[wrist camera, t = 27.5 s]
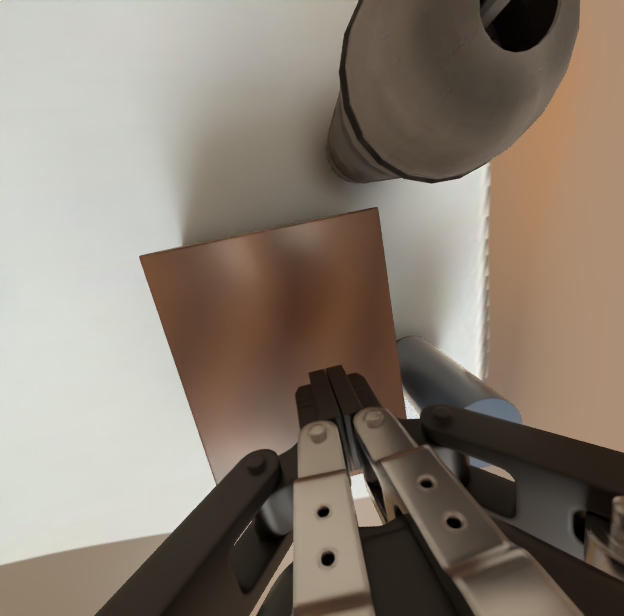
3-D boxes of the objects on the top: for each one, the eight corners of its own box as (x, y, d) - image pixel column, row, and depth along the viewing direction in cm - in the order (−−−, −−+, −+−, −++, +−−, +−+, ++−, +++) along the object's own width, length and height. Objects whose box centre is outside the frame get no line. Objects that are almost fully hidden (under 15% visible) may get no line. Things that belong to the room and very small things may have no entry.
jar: (381, 342, 26) (443, 409, 17) (432, 330, 27) (522, 389, 17) (388, 389, 28) (450, 477, 18) (437, 377, 28) (523, 457, 18)
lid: (373, 207, 17) (378, 206, 16) (407, 452, 21) (412, 460, 20) (144, 254, 16) (137, 256, 15) (226, 499, 20) (224, 509, 20)
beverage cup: (307, 204, 23) (479, 94, 4) (304, 88, 21) (603, -1207, 2) (405, 202, 24) (955, 105, 5) (410, 90, 22) (1345, -825, 3)
